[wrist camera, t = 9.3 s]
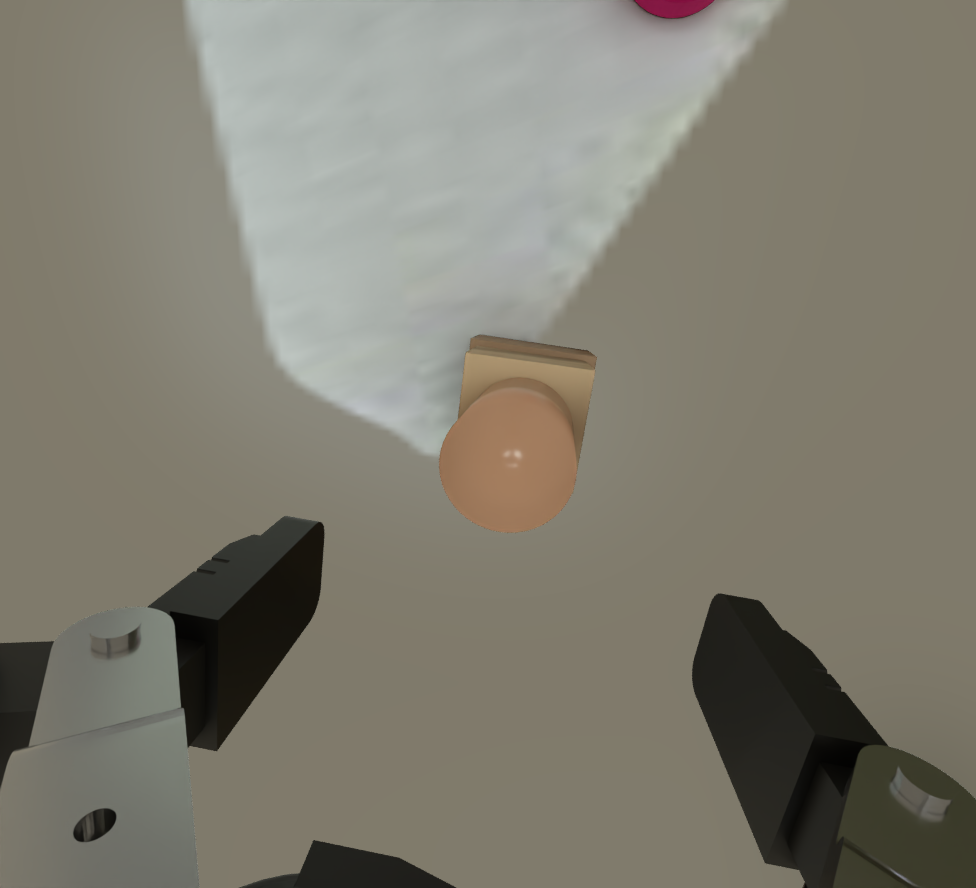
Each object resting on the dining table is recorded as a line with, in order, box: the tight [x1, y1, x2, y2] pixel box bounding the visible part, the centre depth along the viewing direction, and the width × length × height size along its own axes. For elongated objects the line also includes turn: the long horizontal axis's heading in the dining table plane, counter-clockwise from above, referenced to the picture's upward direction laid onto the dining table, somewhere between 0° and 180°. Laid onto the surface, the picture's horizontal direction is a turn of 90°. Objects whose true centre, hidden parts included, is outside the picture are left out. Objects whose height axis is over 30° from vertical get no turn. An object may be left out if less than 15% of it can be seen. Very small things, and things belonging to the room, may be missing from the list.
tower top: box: [458, 346, 595, 493], centre depth 27 cm, size 6×6×5 cm
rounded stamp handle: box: [439, 377, 577, 533], centre depth 22 cm, size 5×5×6 cm
